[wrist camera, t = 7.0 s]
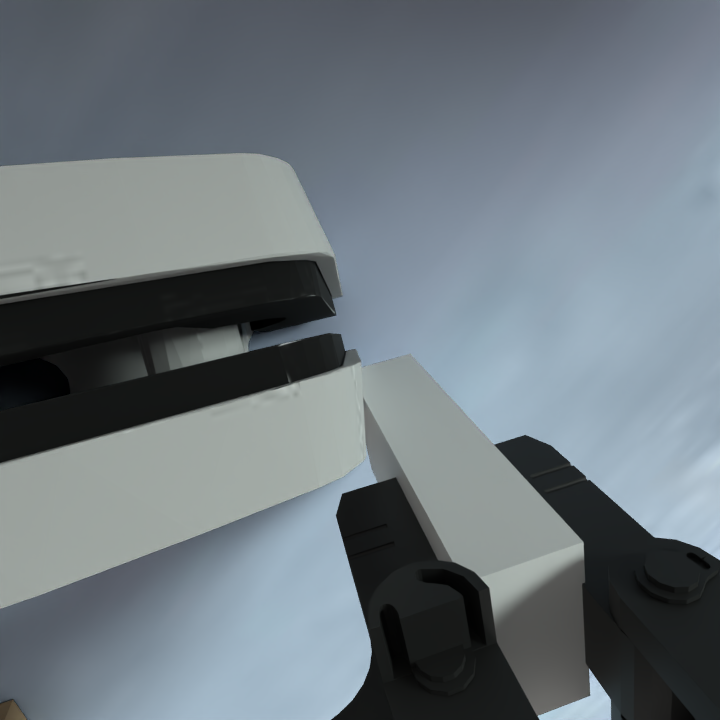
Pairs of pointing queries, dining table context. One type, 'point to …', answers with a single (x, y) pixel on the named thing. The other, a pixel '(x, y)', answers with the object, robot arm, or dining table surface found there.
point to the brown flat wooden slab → (10, 711)
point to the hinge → (162, 358)
